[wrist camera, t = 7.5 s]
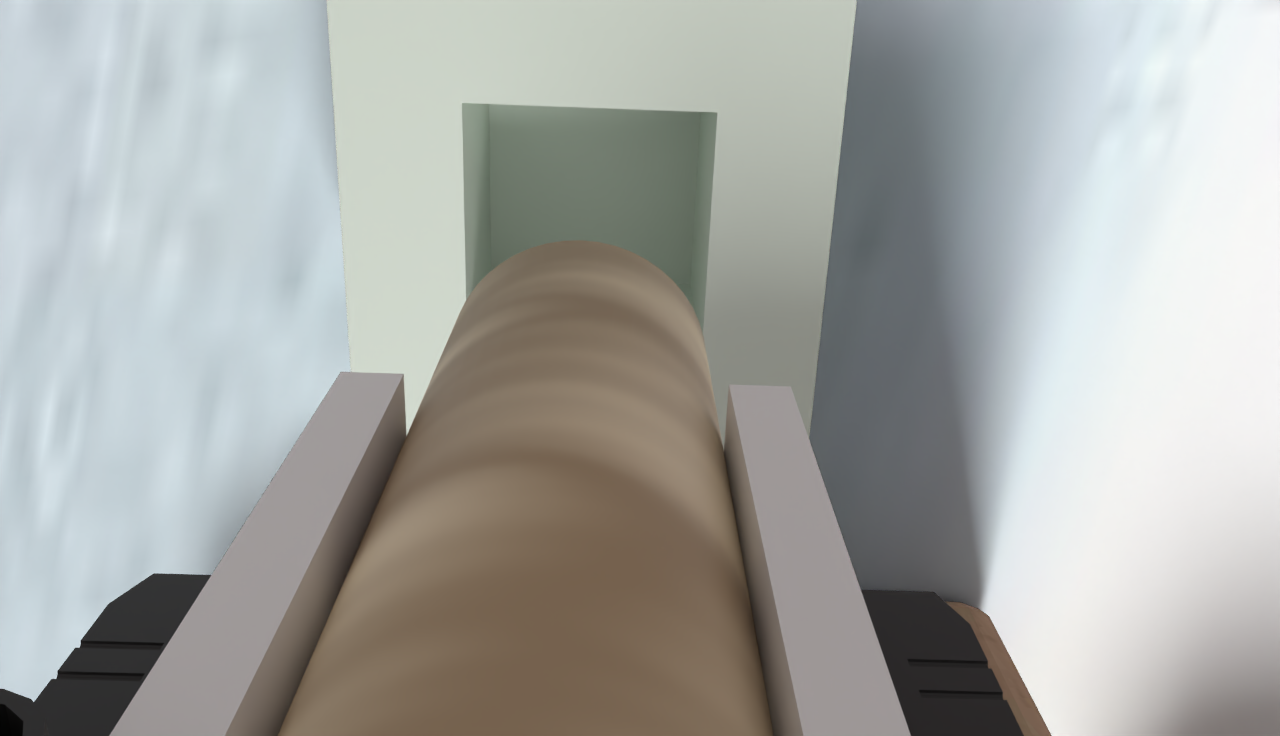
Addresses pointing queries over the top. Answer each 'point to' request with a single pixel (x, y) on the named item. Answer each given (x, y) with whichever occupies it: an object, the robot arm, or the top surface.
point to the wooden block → (1004, 670)
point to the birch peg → (551, 529)
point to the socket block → (591, 163)
